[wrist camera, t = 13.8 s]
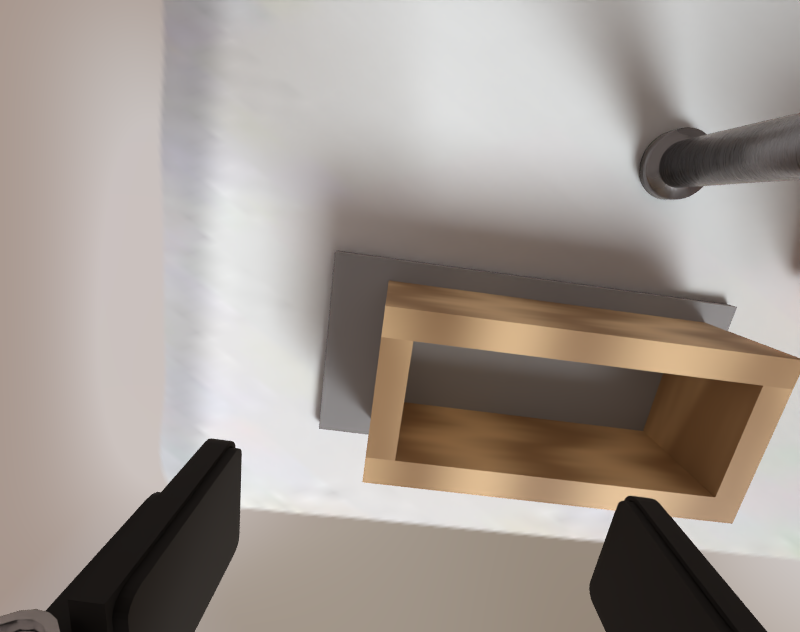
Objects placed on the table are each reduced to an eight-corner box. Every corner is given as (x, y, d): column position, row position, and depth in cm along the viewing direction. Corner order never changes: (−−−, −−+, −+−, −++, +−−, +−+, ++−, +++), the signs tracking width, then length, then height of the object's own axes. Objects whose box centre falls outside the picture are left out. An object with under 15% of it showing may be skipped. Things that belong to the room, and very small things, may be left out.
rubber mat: (728, 304, 20) (736, 307, 19) (667, 465, 22) (673, 470, 22) (336, 250, 19) (335, 252, 18) (320, 423, 21) (319, 428, 21)
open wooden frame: (704, 322, 19) (805, 360, 15) (657, 452, 21) (732, 523, 17) (388, 280, 19) (385, 306, 14) (370, 418, 21) (362, 482, 16)
